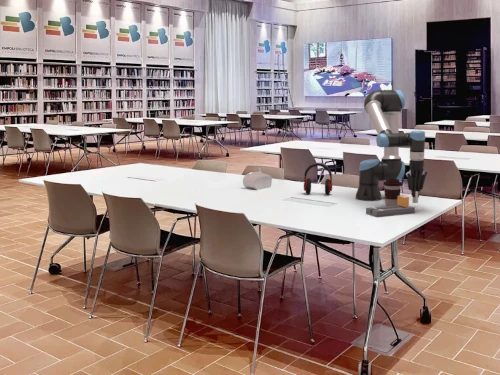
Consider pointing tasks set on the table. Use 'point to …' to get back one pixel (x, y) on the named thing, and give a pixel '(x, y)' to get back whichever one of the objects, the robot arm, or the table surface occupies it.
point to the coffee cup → (392, 191)
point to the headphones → (327, 183)
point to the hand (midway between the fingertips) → (415, 202)
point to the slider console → (389, 210)
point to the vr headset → (257, 180)
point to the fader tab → (403, 201)
